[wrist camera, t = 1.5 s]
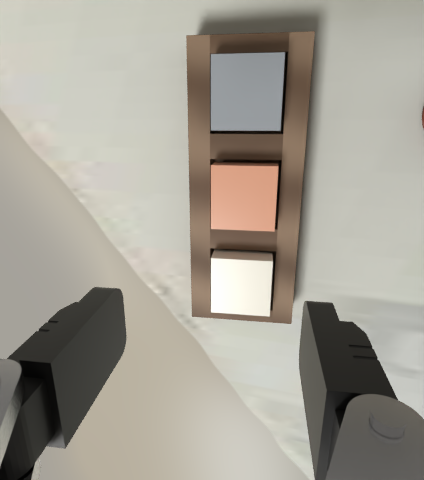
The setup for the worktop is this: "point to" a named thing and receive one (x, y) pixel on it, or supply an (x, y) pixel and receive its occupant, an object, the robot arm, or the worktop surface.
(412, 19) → the worktop surface
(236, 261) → the cream key
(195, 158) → the key console
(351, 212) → the worktop surface
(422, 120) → the supplement bottle
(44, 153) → the worktop surface
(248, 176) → the terracotta key
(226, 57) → the slate key
